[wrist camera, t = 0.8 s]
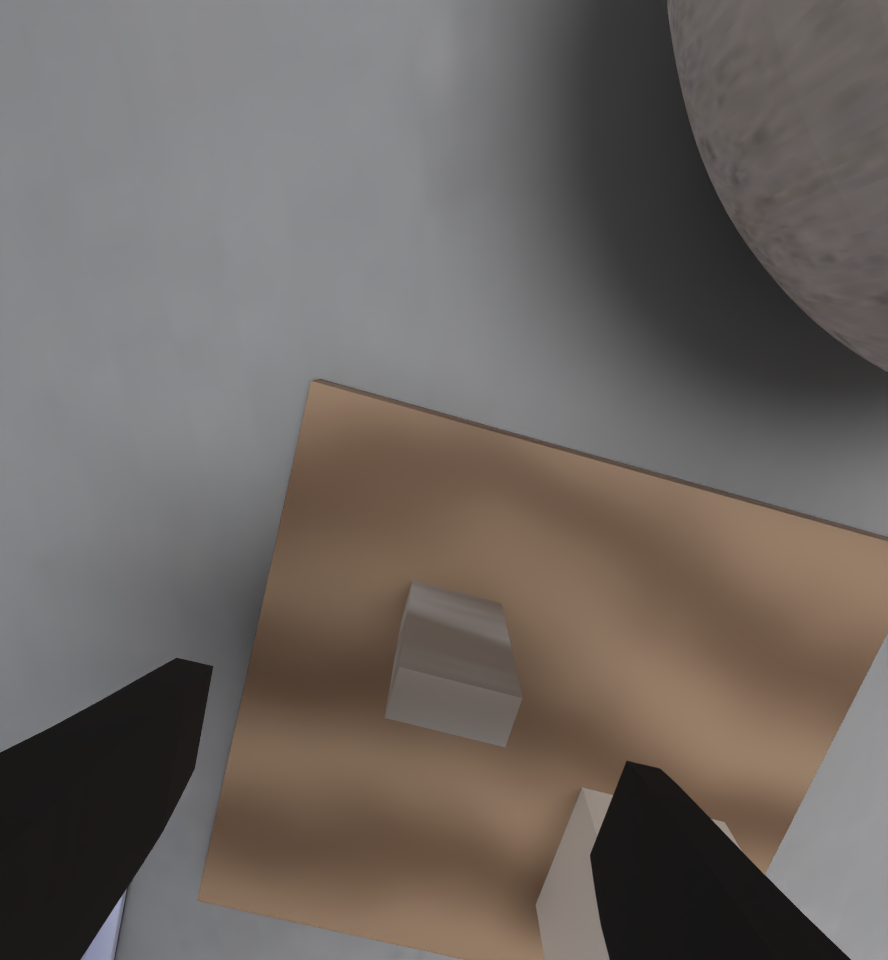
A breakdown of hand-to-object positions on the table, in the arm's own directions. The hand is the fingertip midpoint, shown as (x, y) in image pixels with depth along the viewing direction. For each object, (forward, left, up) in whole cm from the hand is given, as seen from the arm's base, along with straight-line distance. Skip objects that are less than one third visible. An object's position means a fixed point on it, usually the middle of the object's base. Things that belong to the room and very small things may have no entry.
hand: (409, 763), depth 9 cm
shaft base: (-5, -5, -10) cm, 12 cm away
